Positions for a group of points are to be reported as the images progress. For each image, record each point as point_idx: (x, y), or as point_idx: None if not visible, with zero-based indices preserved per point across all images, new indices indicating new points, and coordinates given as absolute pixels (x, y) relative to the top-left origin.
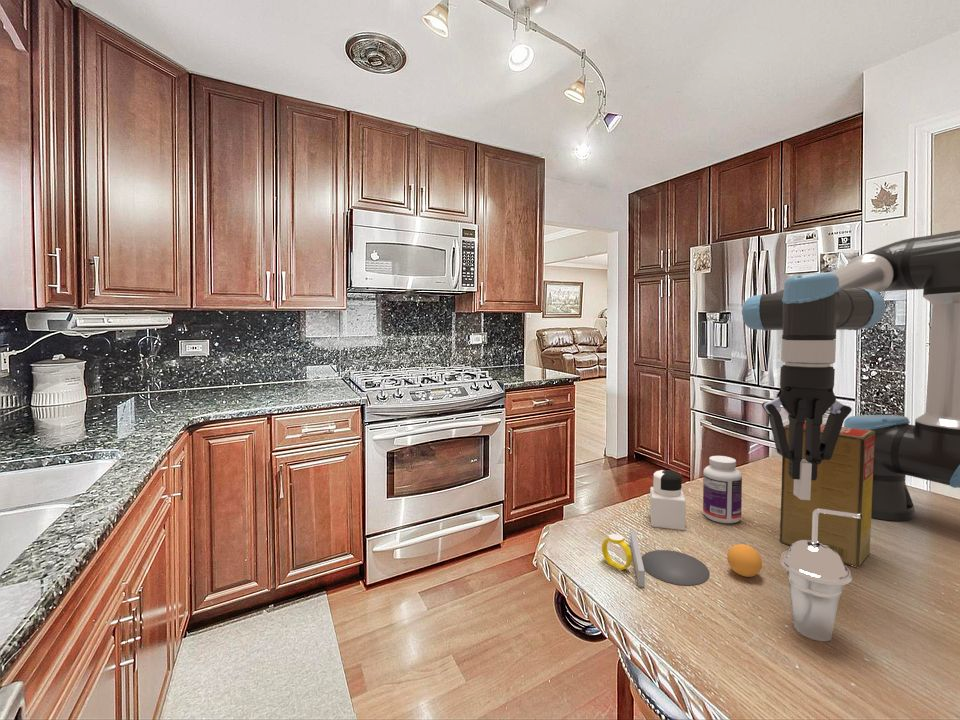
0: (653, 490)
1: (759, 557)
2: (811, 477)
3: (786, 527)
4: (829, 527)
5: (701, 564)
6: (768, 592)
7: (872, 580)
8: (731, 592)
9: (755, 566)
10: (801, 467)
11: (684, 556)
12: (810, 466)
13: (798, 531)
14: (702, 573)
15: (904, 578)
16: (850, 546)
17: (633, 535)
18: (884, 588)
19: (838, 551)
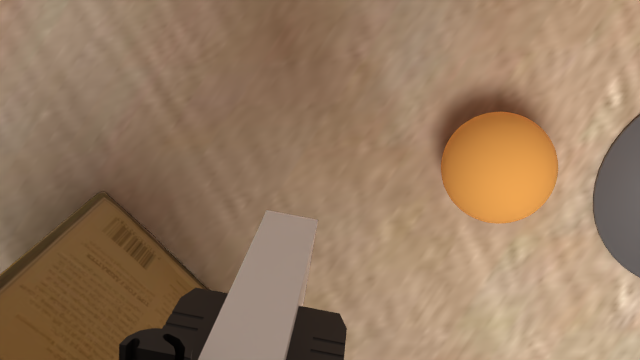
0: None
1: (466, 146)
2: (216, 304)
3: None
4: (115, 297)
5: (605, 201)
6: (470, 48)
7: (101, 126)
8: (599, 43)
9: (492, 116)
10: (284, 353)
11: (636, 249)
12: (215, 343)
13: None
14: (638, 147)
15: (2, 139)
16: (88, 233)
17: None
18: (92, 84)
19: (126, 239)
